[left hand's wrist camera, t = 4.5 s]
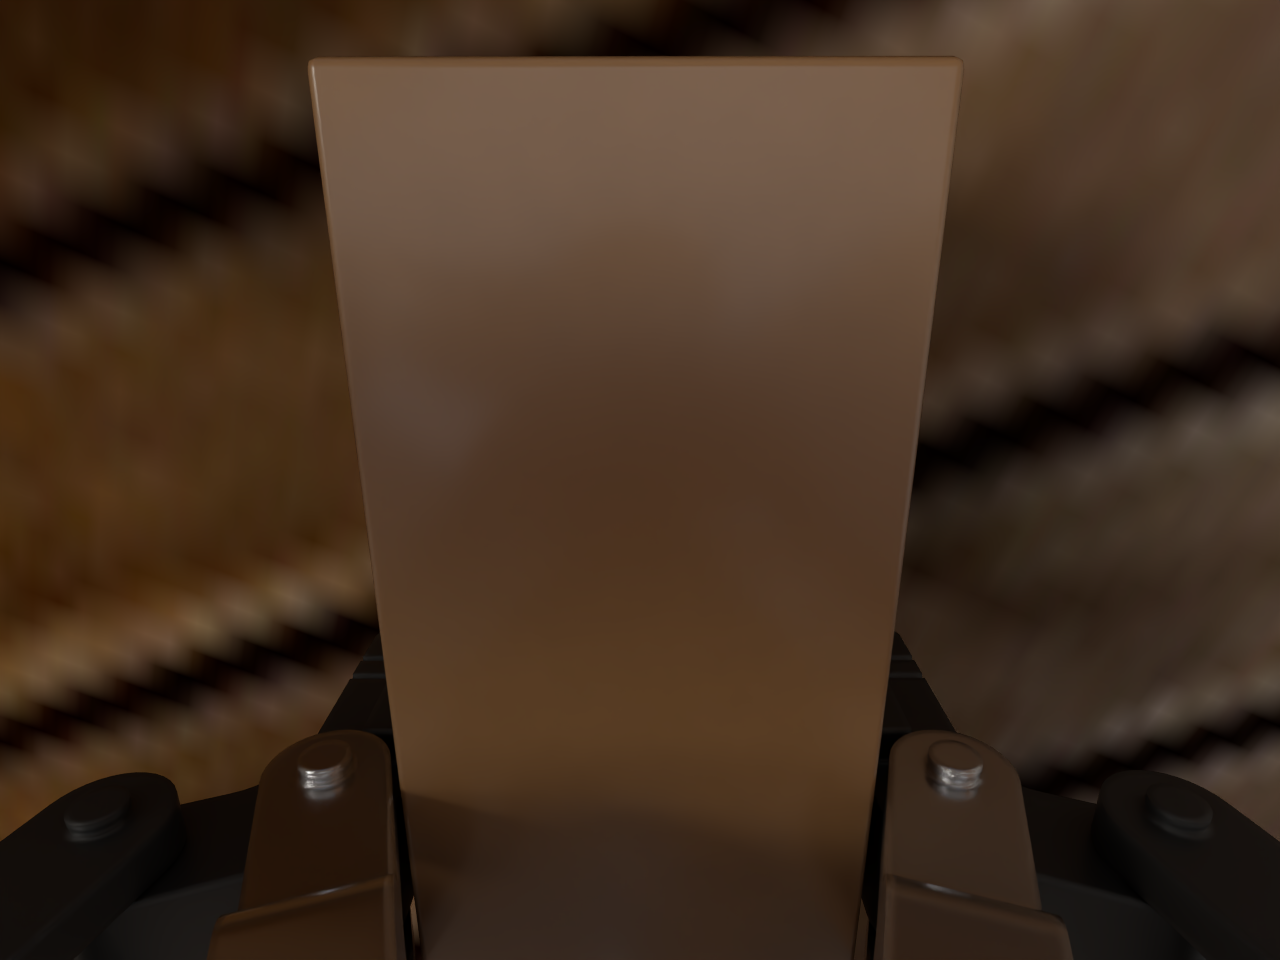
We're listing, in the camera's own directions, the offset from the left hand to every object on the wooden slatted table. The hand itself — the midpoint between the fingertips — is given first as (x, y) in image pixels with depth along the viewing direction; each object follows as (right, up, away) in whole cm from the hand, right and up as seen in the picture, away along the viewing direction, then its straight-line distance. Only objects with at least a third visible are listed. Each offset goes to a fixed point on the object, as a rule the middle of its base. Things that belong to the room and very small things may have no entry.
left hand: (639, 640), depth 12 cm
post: (0, -19, +11) cm, 22 cm away
